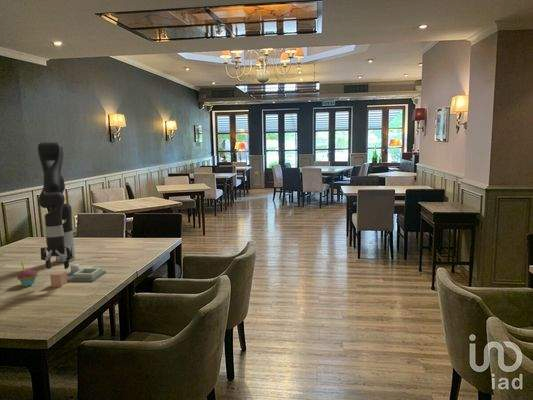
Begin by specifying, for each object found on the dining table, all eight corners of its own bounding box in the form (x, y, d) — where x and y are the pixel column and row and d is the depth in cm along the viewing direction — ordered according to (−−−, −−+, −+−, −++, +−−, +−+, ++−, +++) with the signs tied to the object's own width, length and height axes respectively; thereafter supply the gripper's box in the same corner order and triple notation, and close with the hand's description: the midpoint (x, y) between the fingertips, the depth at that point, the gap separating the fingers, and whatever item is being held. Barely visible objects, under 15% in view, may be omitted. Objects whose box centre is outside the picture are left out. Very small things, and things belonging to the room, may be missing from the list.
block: (51, 286, 188) (50, 274, 187) (57, 283, 193) (56, 271, 192) (61, 286, 188) (60, 274, 187) (67, 283, 193) (66, 271, 192)
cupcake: (23, 288, 186) (21, 263, 185) (14, 285, 191) (11, 261, 189) (42, 283, 193) (39, 259, 192) (32, 280, 198) (30, 256, 196)
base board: (57, 281, 195) (56, 271, 195) (72, 272, 209) (71, 263, 208) (92, 281, 194) (91, 271, 193) (106, 272, 208) (105, 263, 207)
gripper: (35, 236, 184) (38, 270, 186) (64, 236, 183) (67, 270, 185) (45, 233, 191) (48, 266, 193) (73, 233, 190) (76, 266, 192)
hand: (57, 268), depth 189 cm, fingers open, 8 cm apart
